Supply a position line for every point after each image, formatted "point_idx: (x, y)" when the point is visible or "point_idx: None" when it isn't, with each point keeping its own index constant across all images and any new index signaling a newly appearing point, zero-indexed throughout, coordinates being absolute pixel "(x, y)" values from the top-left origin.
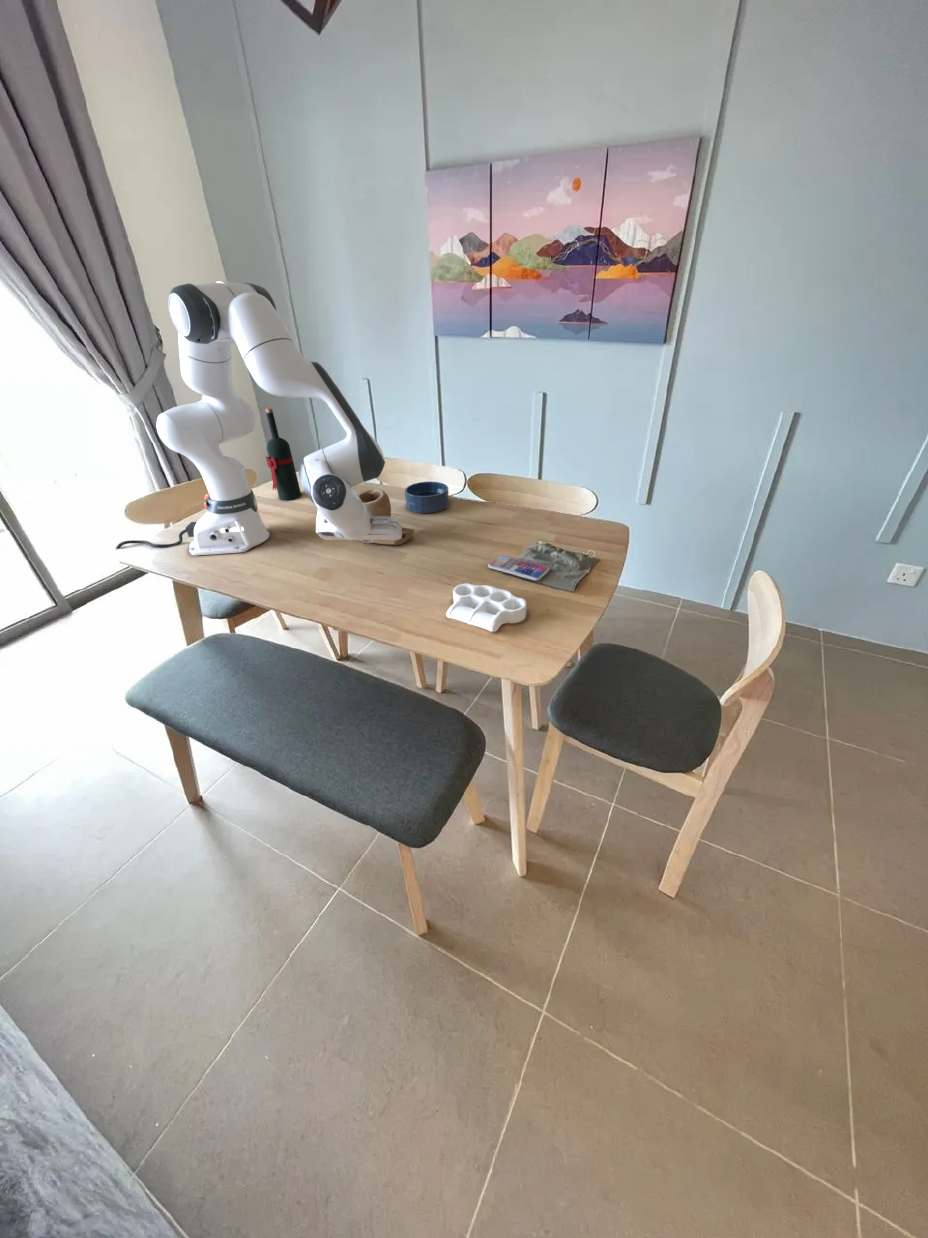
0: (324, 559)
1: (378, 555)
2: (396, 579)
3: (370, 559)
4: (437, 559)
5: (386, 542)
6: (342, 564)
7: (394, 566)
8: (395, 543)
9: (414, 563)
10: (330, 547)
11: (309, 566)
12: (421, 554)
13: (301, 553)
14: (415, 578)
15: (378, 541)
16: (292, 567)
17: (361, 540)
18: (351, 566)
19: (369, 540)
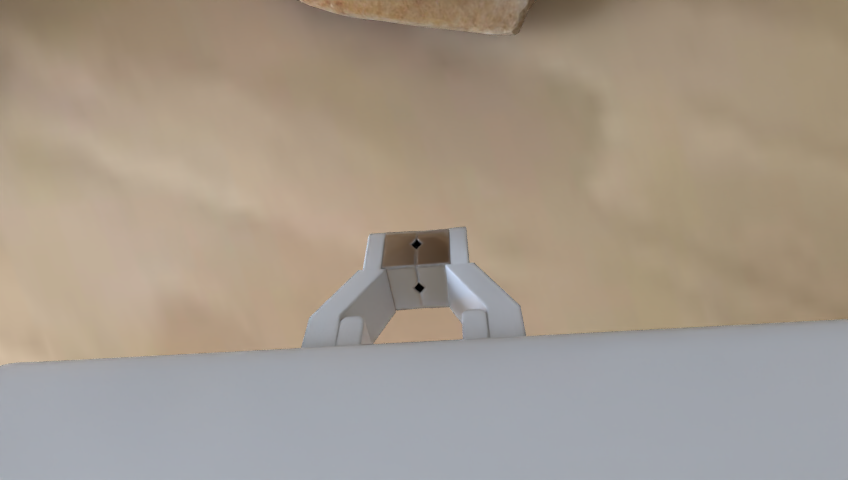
0: (152, 211)
1: (436, 137)
2: None
3: (404, 188)
4: (811, 151)
5: (462, 26)
6: (267, 258)
7: (568, 257)
8: (520, 27)
9: (679, 212)
10: (139, 72)
11: (101, 294)
12: (692, 99)
13: (11, 156)
14: None
15: (407, 20)
16: (20, 311)
17: (384, 324)
18: (323, 276)
19: (453, 311)
